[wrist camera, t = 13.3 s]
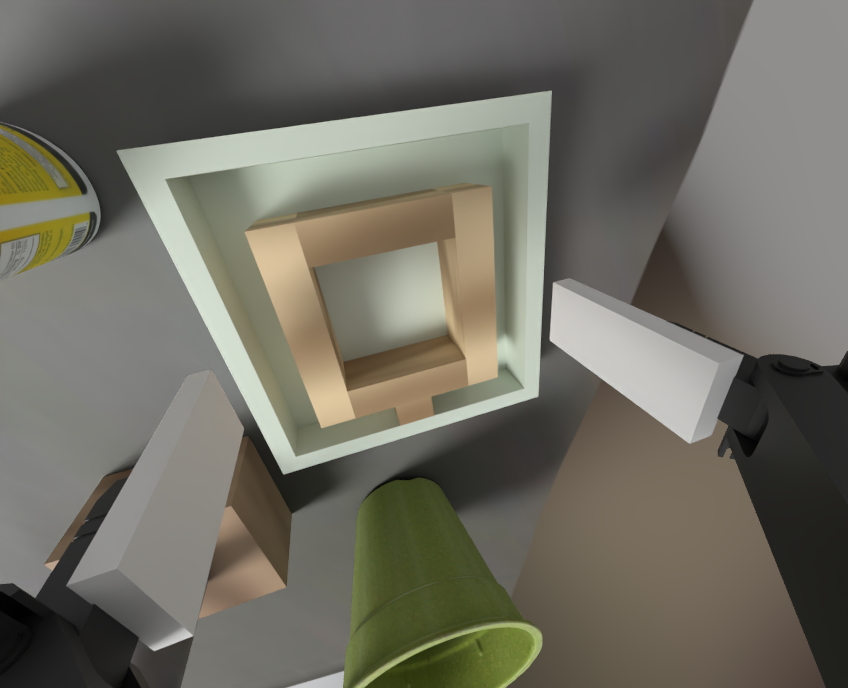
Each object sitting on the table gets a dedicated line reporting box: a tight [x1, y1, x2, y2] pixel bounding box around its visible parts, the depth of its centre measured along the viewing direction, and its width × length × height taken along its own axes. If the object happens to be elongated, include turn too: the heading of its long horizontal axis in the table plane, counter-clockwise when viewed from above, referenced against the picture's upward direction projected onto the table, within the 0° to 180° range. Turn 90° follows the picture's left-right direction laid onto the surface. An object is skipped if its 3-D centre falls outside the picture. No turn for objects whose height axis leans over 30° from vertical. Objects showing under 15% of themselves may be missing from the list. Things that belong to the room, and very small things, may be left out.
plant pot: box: [343, 478, 542, 688], centre depth 23 cm, size 12×12×11 cm
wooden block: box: [44, 436, 292, 688], centre depth 17 cm, size 8×8×11 cm
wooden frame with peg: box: [245, 183, 498, 428], centre depth 18 cm, size 11×10×3 cm
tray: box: [116, 91, 552, 475], centre depth 18 cm, size 16×16×3 cm
